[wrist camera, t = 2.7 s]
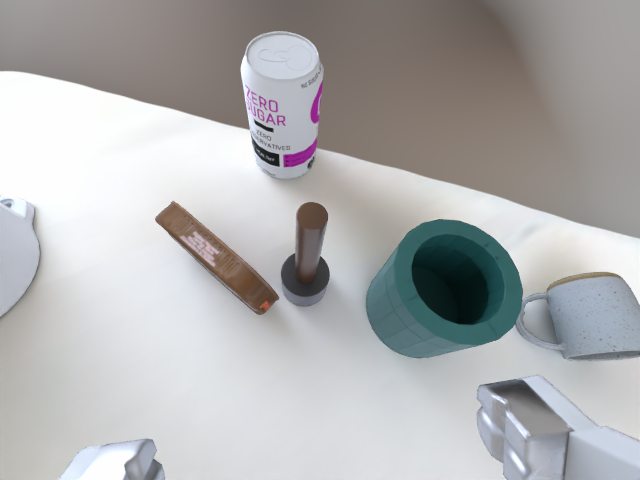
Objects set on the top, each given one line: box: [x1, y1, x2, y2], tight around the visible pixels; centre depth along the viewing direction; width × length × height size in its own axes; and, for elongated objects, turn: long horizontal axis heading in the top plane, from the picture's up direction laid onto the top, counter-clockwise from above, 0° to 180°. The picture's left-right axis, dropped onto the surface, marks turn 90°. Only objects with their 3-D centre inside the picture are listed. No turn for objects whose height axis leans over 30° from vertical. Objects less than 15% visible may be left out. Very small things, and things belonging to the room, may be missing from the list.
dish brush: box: [281, 202, 330, 306], centre depth 29 cm, size 5×5×16 cm
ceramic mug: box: [516, 272, 640, 361], centre depth 33 cm, size 11×8×8 cm
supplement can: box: [241, 32, 323, 179], centre depth 37 cm, size 8×8×15 cm
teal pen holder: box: [366, 219, 523, 358], centre depth 31 cm, size 11×11×11 cm
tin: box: [155, 201, 279, 315], centre depth 32 cm, size 15×3×8 cm, turn 50°
